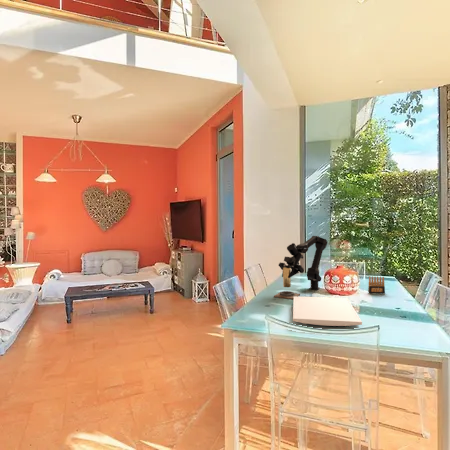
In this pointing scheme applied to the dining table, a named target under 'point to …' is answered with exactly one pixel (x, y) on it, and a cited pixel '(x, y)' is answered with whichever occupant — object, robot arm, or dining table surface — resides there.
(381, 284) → the ammunition clip
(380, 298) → the dining table surface
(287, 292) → the collar plate
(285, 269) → the brass roller
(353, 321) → the board
